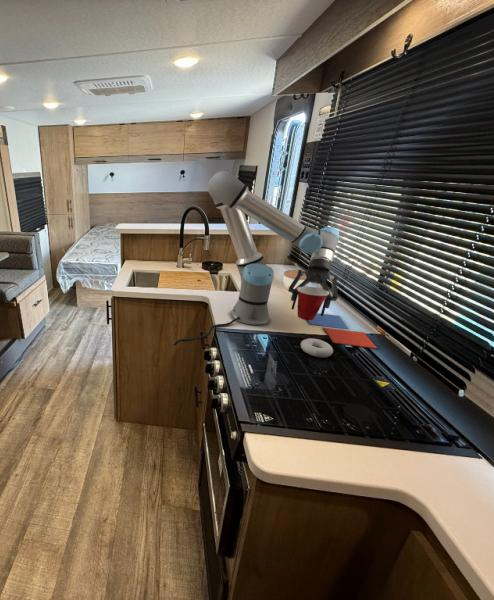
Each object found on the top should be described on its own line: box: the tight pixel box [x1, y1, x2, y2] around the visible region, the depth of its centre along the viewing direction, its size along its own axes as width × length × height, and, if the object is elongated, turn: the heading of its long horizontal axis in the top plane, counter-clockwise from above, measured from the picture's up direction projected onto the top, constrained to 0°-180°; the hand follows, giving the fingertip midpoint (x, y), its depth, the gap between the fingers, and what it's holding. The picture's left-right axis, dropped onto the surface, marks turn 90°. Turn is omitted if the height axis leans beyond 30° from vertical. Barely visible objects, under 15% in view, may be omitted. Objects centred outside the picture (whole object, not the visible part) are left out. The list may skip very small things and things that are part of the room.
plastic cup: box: [296, 286, 329, 321], centre depth 121 cm, size 11×11×12 cm
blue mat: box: [307, 313, 349, 330], centre depth 134 cm, size 12×14×1 cm
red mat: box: [323, 327, 378, 350], centre depth 120 cm, size 12×14×1 cm
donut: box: [300, 338, 334, 359], centre depth 111 cm, size 10×4×10 cm
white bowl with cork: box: [282, 269, 309, 291], centre depth 165 cm, size 13×13×11 cm
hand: (307, 311), depth 120 cm, fingers closed on plastic cup, 9 cm apart
